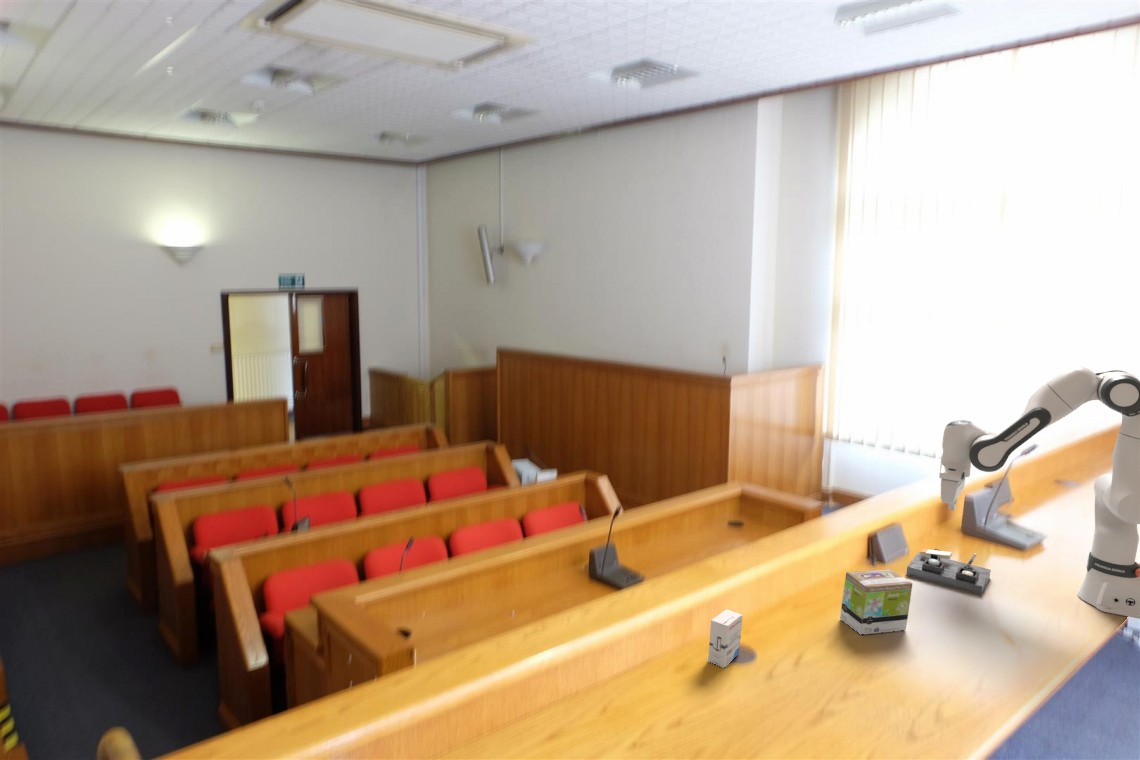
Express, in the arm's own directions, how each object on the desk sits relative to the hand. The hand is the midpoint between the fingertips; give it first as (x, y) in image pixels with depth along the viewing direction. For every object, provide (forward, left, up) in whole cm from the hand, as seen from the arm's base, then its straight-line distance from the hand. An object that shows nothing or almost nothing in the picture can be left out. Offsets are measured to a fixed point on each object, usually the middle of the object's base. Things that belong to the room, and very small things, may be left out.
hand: (951, 509), depth 254 cm
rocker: (+2, +4, -17) cm, 18 cm away
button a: (-9, +12, -17) cm, 23 cm away
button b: (+1, +12, -16) cm, 20 cm away
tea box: (+7, +58, -21) cm, 62 cm away
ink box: (+32, +102, -21) cm, 109 cm away
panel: (-3, +8, -20) cm, 22 cm away
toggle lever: (-8, +4, -16) cm, 18 cm away
